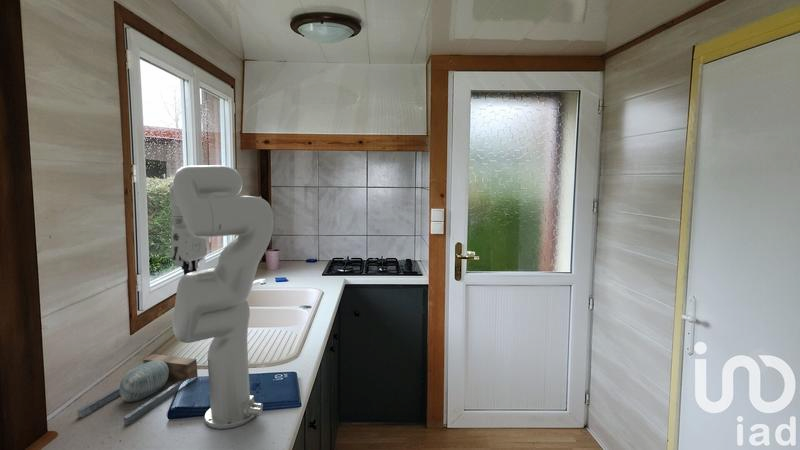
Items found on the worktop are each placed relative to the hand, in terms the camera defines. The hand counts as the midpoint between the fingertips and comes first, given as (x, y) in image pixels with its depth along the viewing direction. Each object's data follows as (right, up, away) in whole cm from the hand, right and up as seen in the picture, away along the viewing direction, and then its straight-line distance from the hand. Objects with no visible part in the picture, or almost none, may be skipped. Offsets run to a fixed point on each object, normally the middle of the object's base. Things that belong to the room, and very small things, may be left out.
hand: (190, 282), depth 137 cm
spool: (-9, -31, -7) cm, 33 cm away
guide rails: (-10, -31, -11) cm, 34 cm away
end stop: (-7, -29, +2) cm, 30 cm away
